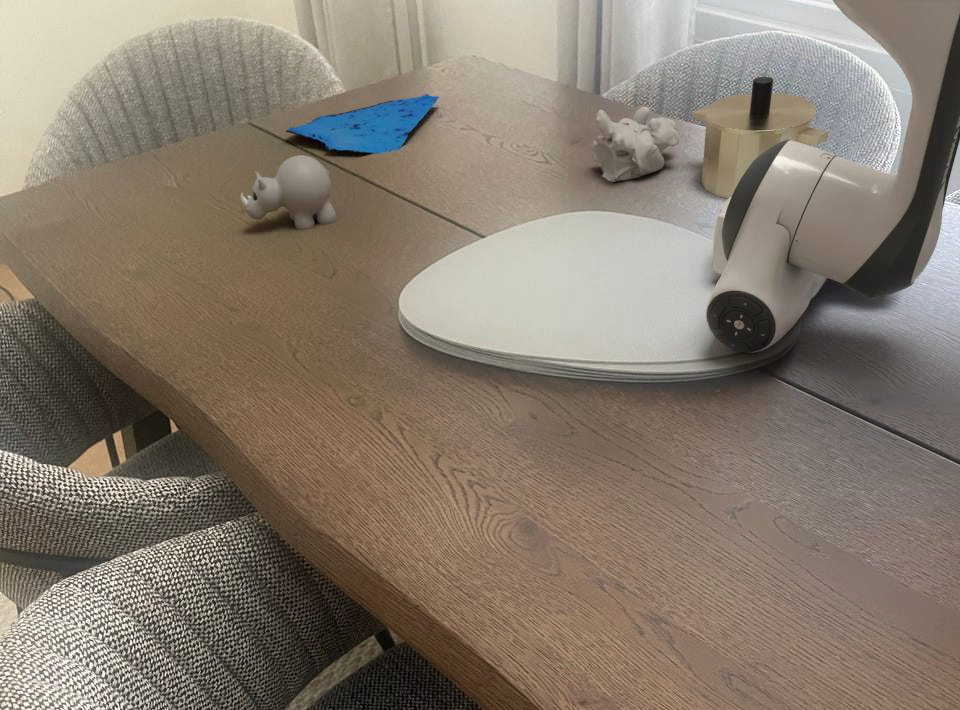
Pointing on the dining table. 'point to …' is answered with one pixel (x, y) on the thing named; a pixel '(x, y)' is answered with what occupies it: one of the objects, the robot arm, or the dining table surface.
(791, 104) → the pot lid
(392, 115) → the shard
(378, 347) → the dining table surface
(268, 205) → the chubby cartoon animal
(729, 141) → the pot
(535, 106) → the dining table surface
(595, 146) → the figurine
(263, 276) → the dining table surface
